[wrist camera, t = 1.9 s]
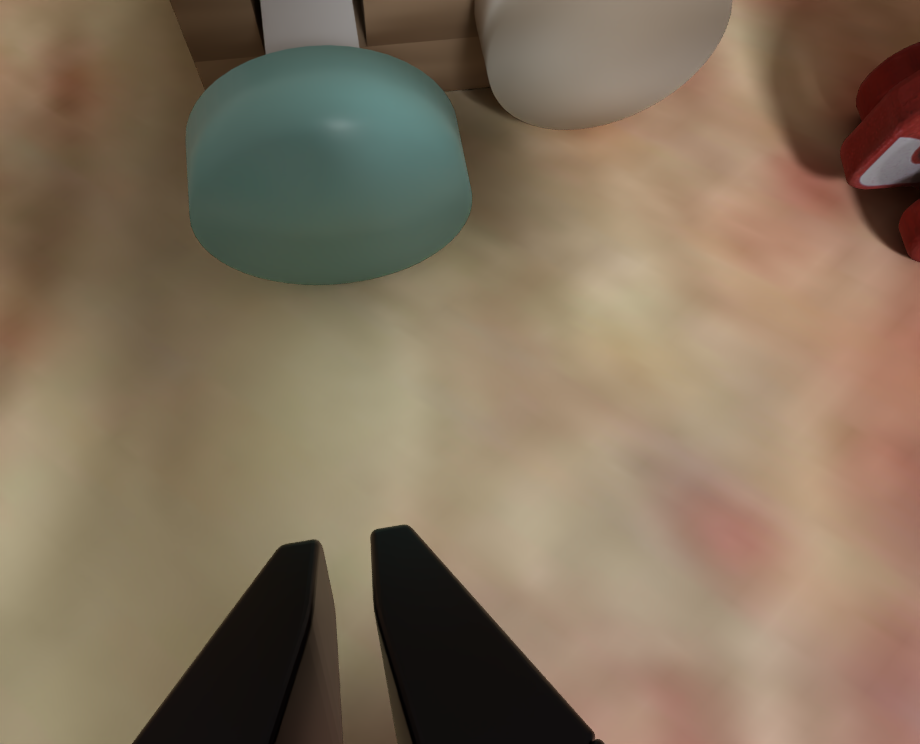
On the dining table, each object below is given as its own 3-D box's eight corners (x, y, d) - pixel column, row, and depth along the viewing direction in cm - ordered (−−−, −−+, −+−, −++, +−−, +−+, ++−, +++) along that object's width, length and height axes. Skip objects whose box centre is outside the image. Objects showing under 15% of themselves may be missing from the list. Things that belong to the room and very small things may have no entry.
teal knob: (463, 268, 24) (484, 112, 16) (230, 297, 23) (144, 146, 16) (405, -33, 28) (401, -259, 21) (208, -17, 27) (133, -248, 20)
